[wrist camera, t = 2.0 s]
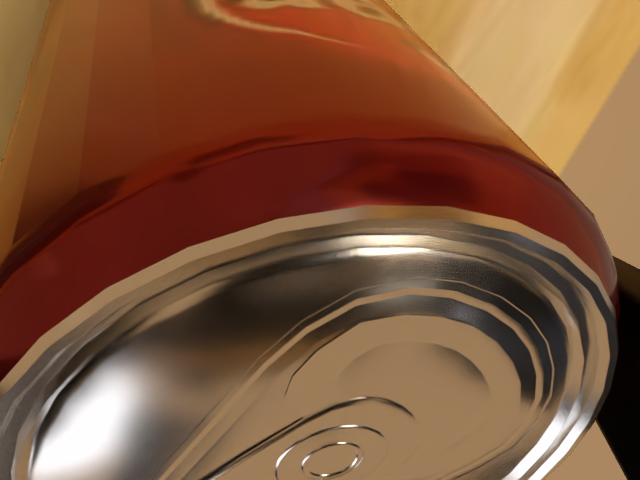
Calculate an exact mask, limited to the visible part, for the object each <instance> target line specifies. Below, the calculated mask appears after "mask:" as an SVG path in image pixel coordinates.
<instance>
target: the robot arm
mask: <svg viewBox="0 0 640 480" xmlns="http://www.w3.org/2000/svg"><path fill="white" fill-rule="evenodd" d="M612 257H613V261H614V264H615V267H616V271H617V281H618V292H619V303H620V315H619V320H618V325H617V333H618V342H619V349H618V356H617V361H616V365H615V370H614V375H613V380H612V384H611V389H610V391H609V393H608V395H607V397H606V399H605V401H604V403H603V405H602V407H601V409H600V412H599V414H598V416H597V418H596V422H597V424H598V426H599V428H600V430H601V432H602V434H603V435H604V437H605V439H606V441H607V443H608V445H609V447H610V448H611V450H612V452H613V454H614V456H615V458H616V460H617V461H618V463H619V465H620V467H621V469H622V471H623V473H624V475H625V476H626V478H627V480H640V269H638V268H636V267H634V266H632V265H630V264H627V263H626V262H624V261H622V260H620V259H618V258H616V257H614V256H612Z"/></svg>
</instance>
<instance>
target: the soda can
mask: <svg viewBox="0 0 640 480" xmlns="http://www.w3.org/2000/svg"><path fill="white" fill-rule="evenodd" d="M619 315H620V303H619V292H618V281H617V271H616V267H615V264H614V261H613V257H612V254H611V252H610V250H609V247H608V245H607V243H606V241H605V239H604V236H603V234H602V232H601V230H600V228H599V226H598V223H597V221H596V219H595V217H594V214H593V213H592V212H591V211H590V210H589V209H588V208H587V207H586V206H585V205H584V204H583V202H582V201H581V200H580V199H579V198H578V197H577V196H576V195H575V194H574V193H573V192H572V191H571V190H570V189H569V188H568V187H567V186H566V185H565V183H564V182H563V181H562V180H561V179H560V178H559V177H558V176H557V175H556V174H555V173H554V172H553V171H552V170H551V169H550V168H549V167H548V166H547V165H546V164H545V163H544V162H543V161H542V160H541V159H540V158H539V157H538V156H537V155H536V154H535V153H534V152H533V151H532V150H531V149H530V148H529V147H528V146H527V145H526V144H525V143H524V142H523V141H522V139H521V138H520V137H519V136H518V135H517V134H516V133H515V132H514V131H513V130H512V129H511V128H510V127H509V126H508V125H507V124H506V123H505V122H504V121H503V120H502V119H501V118H500V117H499V116H498V115H497V114H496V113H495V112H494V111H493V110H492V109H491V108H490V107H489V106H488V105H487V104H486V103H485V102H484V101H483V100H482V99H481V98H480V97H479V96H478V95H477V94H476V93H475V92H474V91H473V90H472V89H471V88H470V87H469V86H468V85H467V84H466V83H465V82H464V81H463V80H462V79H461V78H460V77H459V76H458V75H457V74H456V73H455V72H454V71H453V70H452V69H451V68H450V67H449V66H448V65H447V64H446V63H445V62H444V61H443V60H442V59H441V57H440V56H439V55H438V54H437V53H436V52H435V51H434V50H433V49H432V48H431V47H430V46H429V45H428V44H427V43H426V42H425V41H424V40H423V39H422V38H421V37H420V36H419V35H418V34H417V33H416V32H415V31H414V30H413V29H412V28H411V27H410V26H409V25H408V24H407V23H406V22H405V21H404V20H403V19H402V18H401V17H400V16H399V15H398V14H397V13H396V12H395V11H394V10H393V9H392V8H391V7H390V6H389V5H388V4H387V3H386V2H385V1H384V0H50V3H49V6H48V9H47V13H46V16H45V19H44V23H43V26H42V29H41V33H40V36H39V39H38V43H37V46H36V50H35V53H34V56H33V60H32V63H31V66H30V70H29V73H28V76H27V80H26V83H25V86H24V90H23V93H22V96H21V100H20V103H19V107H18V110H17V113H16V117H15V120H14V123H13V127H12V130H11V133H10V137H9V140H8V143H7V147H6V150H5V154H4V157H3V160H2V164H1V167H0V480H546V479H547V478H548V477H549V476H550V475H551V473H552V472H554V471H555V470H556V468H558V467H559V465H561V464H562V462H563V461H564V460H565V459H566V458H567V457H568V456H569V455H570V454H571V453H572V452H573V451H574V449H575V448H576V446H577V445H578V444H579V442H580V441H581V440H582V438H583V437H584V435H585V434H586V433H587V431H588V430H589V429H590V427H591V426H592V425H593V423H594V422H595V420H596V418H597V416H598V414H599V412H600V409H601V407H602V405H603V403H604V401H605V399H606V397H607V395H608V393H609V391H610V389H611V384H612V380H613V375H614V370H615V365H616V361H617V356H618V349H619V342H618V333H617V325H618V320H619Z"/></svg>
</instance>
